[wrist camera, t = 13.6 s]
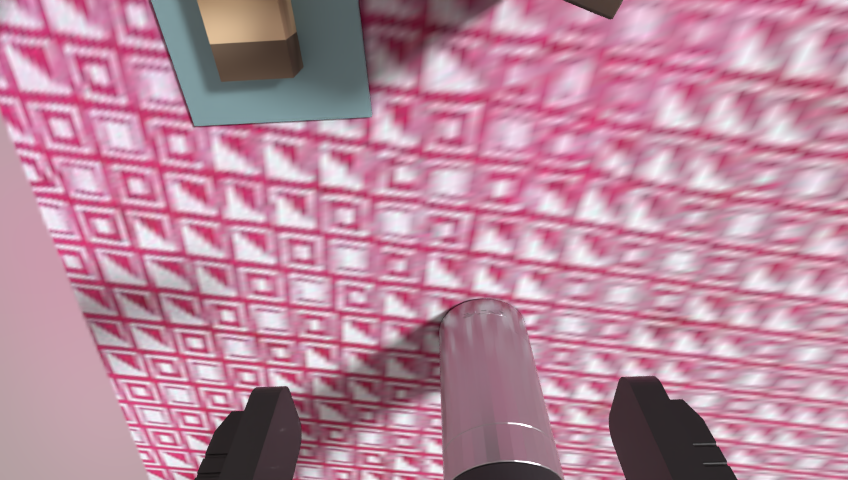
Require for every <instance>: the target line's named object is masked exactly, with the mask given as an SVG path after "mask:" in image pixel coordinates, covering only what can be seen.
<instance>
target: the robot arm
mask: <svg viewBox="0 0 848 480" xmlns="http://www.w3.org/2000/svg"><path fill="white" fill-rule="evenodd" d="M439 343H440V383H441V416H442V448H443V474H444V480H564V476H563V472H562V468H561V464H560V460H559V456H558V452H557V449H556V445H555V441H554V437H553V433H552V429H551V425H550V421H549V417H548V413H547V409H546V405H545V401H544V397H543V393H542V389H541V385H540V381H539V377H538V373H537V369H536V365H535V361H534V357H533V353H532V349H531V345H530V341H529V337H528V333H527V329H526V325H525V321H524V319H523V317H522V315H521V314H520V313H519V312H518V310H517V309H515V308H514V307H512V306H511V305H509V304H507V303H505V302H502V301H498V300H493V299H478V300H472V301H468V302H465V303H462V304H460V305H458V306H456V307H455V308H453V309H452V310H451V311H449V312H448V313H447V315H446V316H445V317H444V318H443V320H442V322H441V324H440V329H439ZM609 429H610V435H611V439H612V442H613V445H614V448H615V450H616V453H617V456H618V459H619V461H620V464H621V467H622V470H623V472H624V475H625V478H626V480H737V478H736V476H735V475H734V473H733V471H732V469H731V468H730V466H728V465H727V460H726V459H725V457H724V455H723V453H722V452H721V450H720V448H719V447H717V446H716V441H715V439H714V438H713V436H712V434H711V432H710V431H709V429H708V427H707V425H706V424H705V422H704V420H703V419H702V418H701V417H700V416H699V415H698V414H697V413H696V412H695V411H694V410H693V409H692V408H691V407H690V406H689V405H688V404H687V403H686V402H685V401H684V400H683V399H679V400H670V399H669V397H668V395H667V393H666V391H665V390H664V388H663V386H662V384H661V382H660V381H659V379H658V378H656V377H655V376H638V377H621V378H620V380H619V382H618V386H617V389H616V393H615V396H614V400H613V403H612V407H611V411H610V414H609ZM300 445H301V423H300V420H299V417H298V414H297V411H296V408H295V405H294V402H293V399H292V396H291V393H290V391H289V388H288V387H286V386H281V387H256V388H255V389H254V390H253V391H252V393H251V395H250V397H249V400H248V402H247V405H246V408H245V410H244V411H232V412H231V413H230V414H229V415H228V416H227V418H226V419H225V420H224V421H223V422H222V424H221V425H220V426H219V427H218V428H217V429H216V431H215V432H214V435H213V437H212V439H211V442H210V444H209V446H208V449H207V451H206V453H205V455H206V456H205V459H203V461H202V463H201V465H200V468H199V470H198V472H197V473H198V475H197V478H195V479H194V480H292V479H293V475H294V471H295V466H296V462H297V458H298V454H299V450H300Z"/></svg>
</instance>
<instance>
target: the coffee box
mask: <svg viewBox="0 0 848 480" xmlns="http://www.w3.org/2000/svg"><path fill="white" fill-rule="evenodd" d="M564 1H566V2H568V3H571V4H573V5H576V6H578V7H581V8H583V9H585V10H588V11H590V12H593V13H595V14H598V15H600V16H603V17H605V18H608V19H610V20H611V19H613V17H614V16H615V14H616V12H617V10H618V9H619V7H620V5H621V3H622V1H623V0H564Z"/></svg>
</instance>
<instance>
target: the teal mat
mask: <svg viewBox="0 0 848 480" xmlns="http://www.w3.org/2000/svg"><path fill="white" fill-rule="evenodd" d="M151 1H152V4H153V7H154V10H155V13H156V16H157V19H158V22H159V25H160V27H161V30H162V33H163V36H164V39H165V42H166V45H167V48H168V51H169V53H170V56H171V59H172V62H173V65H174V68H175V71H176V74H177V77H178V79H179V82H180V85H181V88H182V91H183V94H184V97H185V100H186V103H187V105H188V108H189V111H190V114H191V117H192V120H193V123H194V126H207V125H226V124H246V123H265V122H284V121H304V120H323V119H342V118H362V117H372V109H371V101H370V93H369V84H368V76H367V67H366V59H365V51H364V42H363V34H362V26H361V17H360V9H359V1H358V0H291V4H292V9H293V15H294V20H295V25H296V30H297V35H298V40H299V46H300V51H301V56H302V61H303V66H304V67H303V68H302V69H301V71H300V72H299V73H298V74H297V75H296V76H295V77H294V78H283V79H265V80H247V81H228V82H221V80H220V76H219V73H218V70H217V66H216V63H215V60H214V56H213V53H212V49H211V46H210V43H209V39H208V36H207V32H206V29H205V26H204V22H203V19H202V16H201V12H200V9H199V5H198V2H197V0H151Z"/></svg>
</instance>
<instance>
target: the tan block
mask: <svg viewBox="0 0 848 480" xmlns="http://www.w3.org/2000/svg"><path fill="white" fill-rule="evenodd" d="M197 2H198V5H199V9H200V12H201V16H202V19H203V22H204V26H205V29H206V32H207V36H208V39H209V43H210V46H211V49H212V53H213V56H214V60H215V63H216V66H217V70H218V73H219V76H220V80H221V82H228V81H247V80H265V79H283V78H294V77H295V76H296V75H297V74H298V73H299V72H300V71H301V69H302V68H303V67H304V66H303V61H302V56H301V51H300V46H299V40H298V35H297V30H296V25H295V20H294V15H293V9H292V4H291V0H197Z"/></svg>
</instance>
